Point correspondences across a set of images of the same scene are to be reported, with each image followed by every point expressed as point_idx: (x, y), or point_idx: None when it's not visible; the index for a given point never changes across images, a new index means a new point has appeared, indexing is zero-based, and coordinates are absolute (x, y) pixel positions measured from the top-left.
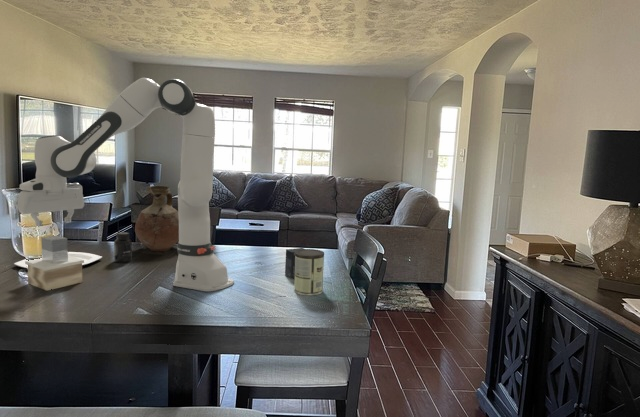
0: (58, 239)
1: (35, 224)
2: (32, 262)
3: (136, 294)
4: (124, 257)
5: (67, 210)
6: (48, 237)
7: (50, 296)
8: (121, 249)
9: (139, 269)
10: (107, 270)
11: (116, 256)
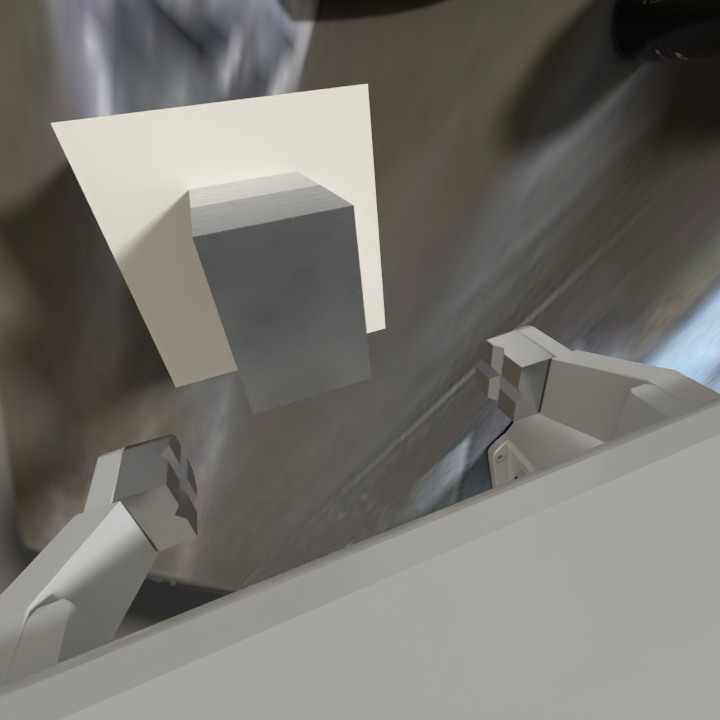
0: (305, 395)
1: (96, 464)
2: (113, 217)
3: (394, 472)
4: (649, 57)
5: (649, 420)
6: (260, 270)
7: (184, 394)
8: (691, 42)
9: (564, 231)
10: (496, 151)
11: (644, 13)
